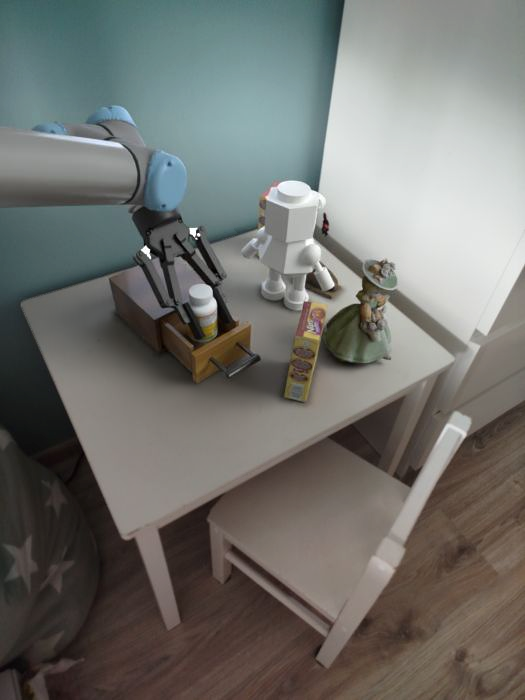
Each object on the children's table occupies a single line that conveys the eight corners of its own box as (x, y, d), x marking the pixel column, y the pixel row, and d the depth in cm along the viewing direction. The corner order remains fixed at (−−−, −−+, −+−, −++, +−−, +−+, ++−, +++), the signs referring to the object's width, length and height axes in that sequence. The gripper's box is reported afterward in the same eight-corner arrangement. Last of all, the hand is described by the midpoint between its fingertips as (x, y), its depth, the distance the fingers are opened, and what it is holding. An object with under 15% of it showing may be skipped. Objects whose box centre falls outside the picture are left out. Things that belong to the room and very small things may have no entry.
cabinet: (216, 323, 94) (215, 289, 87) (159, 354, 87) (154, 320, 81) (171, 286, 101) (167, 252, 95) (116, 312, 94) (108, 277, 88)
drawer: (270, 368, 84) (273, 341, 80) (217, 403, 78) (216, 376, 73) (202, 312, 94) (201, 285, 90) (150, 339, 88) (146, 312, 83)
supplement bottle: (183, 327, 85) (179, 285, 78) (211, 320, 87) (210, 278, 80) (193, 346, 82) (190, 304, 75) (221, 338, 84) (221, 296, 77)
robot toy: (340, 302, 100) (364, 194, 82) (315, 332, 93) (336, 220, 75) (255, 267, 108) (260, 160, 90) (227, 292, 101) (226, 182, 83)
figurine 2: (277, 275, 106) (280, 242, 100) (288, 266, 109) (291, 234, 102) (331, 299, 101) (338, 266, 95) (341, 289, 103) (348, 256, 97)
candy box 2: (307, 403, 80) (320, 341, 69) (283, 398, 81) (292, 335, 70) (315, 367, 86) (328, 304, 76) (293, 362, 87) (302, 299, 76)
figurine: (369, 390, 83) (398, 304, 69) (304, 353, 89) (318, 267, 74) (403, 346, 92) (435, 262, 77) (342, 315, 97) (361, 231, 83)
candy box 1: (271, 261, 110) (276, 201, 99) (255, 256, 111) (258, 196, 100) (286, 243, 115) (292, 184, 104) (271, 238, 117) (275, 180, 106)
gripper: (105, 215, 69) (179, 352, 72) (204, 181, 78) (265, 304, 82) (95, 231, 75) (163, 357, 79) (187, 198, 84) (244, 312, 88)
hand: (214, 330), depth 80 cm, fingers closed on supplement bottle, 5 cm apart
